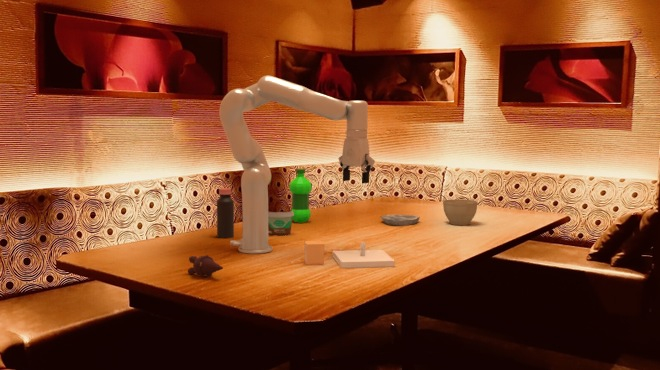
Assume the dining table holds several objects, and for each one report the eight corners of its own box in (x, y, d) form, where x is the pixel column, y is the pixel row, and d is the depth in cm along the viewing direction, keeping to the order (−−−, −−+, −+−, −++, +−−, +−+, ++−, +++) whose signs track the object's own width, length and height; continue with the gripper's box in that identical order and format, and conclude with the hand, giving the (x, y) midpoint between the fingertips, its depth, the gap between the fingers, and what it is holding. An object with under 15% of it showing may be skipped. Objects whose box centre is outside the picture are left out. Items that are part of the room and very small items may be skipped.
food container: (267, 237, 265) (267, 213, 264) (265, 234, 271) (265, 210, 269) (296, 235, 268) (296, 212, 267) (293, 233, 274) (293, 210, 273)
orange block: (306, 264, 216) (306, 244, 215) (304, 260, 222) (304, 240, 221) (324, 264, 217) (324, 244, 216) (321, 260, 223) (321, 240, 222)
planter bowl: (474, 221, 309) (475, 199, 308) (479, 227, 293) (479, 203, 292) (441, 220, 310) (441, 198, 309) (443, 226, 294) (444, 203, 293)
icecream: (232, 257, 197) (199, 255, 206) (214, 255, 192) (181, 253, 200) (229, 280, 196) (196, 276, 205) (212, 278, 191) (178, 275, 199)
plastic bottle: (311, 223, 297) (311, 170, 295) (288, 223, 298) (288, 170, 295) (312, 220, 307) (312, 168, 305) (290, 220, 308) (290, 168, 305)
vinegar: (230, 238, 260) (230, 190, 257) (214, 238, 261) (214, 189, 259) (236, 235, 266) (235, 188, 264) (220, 235, 268) (220, 187, 265)
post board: (341, 268, 212) (342, 248, 211) (332, 256, 229) (333, 238, 229) (394, 266, 215) (394, 247, 214) (381, 255, 232) (382, 237, 232)
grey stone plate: (395, 219, 316) (395, 213, 316) (424, 223, 305) (425, 216, 305) (371, 224, 301) (372, 217, 301) (402, 228, 290) (402, 221, 290)
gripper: (332, 134, 235) (331, 180, 237) (367, 135, 223) (365, 184, 225) (347, 134, 240) (346, 179, 242) (381, 135, 228) (380, 183, 230)
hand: (355, 181), depth 233 cm, fingers open, 9 cm apart
